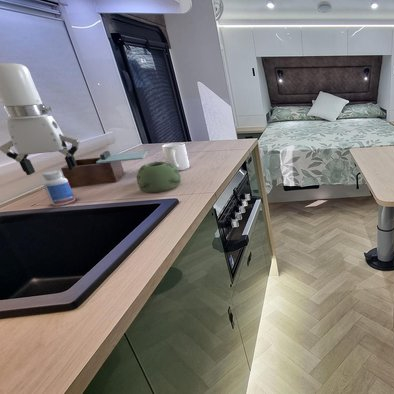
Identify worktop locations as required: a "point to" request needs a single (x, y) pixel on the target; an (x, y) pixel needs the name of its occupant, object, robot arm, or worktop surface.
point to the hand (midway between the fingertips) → (52, 171)
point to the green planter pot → (158, 177)
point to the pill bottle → (58, 188)
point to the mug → (176, 155)
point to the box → (92, 172)
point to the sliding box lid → (121, 156)
